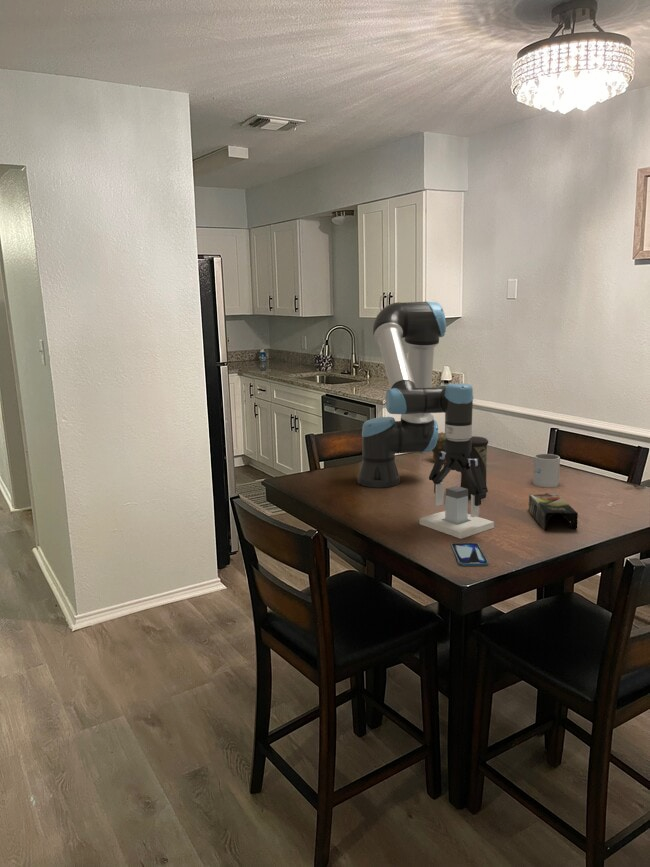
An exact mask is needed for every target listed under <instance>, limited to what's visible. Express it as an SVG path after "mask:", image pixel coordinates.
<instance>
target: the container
mask: <svg viewBox="0 0 650 867" xmlns="http://www.w3.org/2000/svg"><path fill="white" fill-rule="evenodd" d="M470 439H471V441H472V446H471V453H470V459H476V458H478V459H479V463H480V469H481V472H482V475H483V478H484V481H485V484H486V485H487V465H488V464H487V459H488V458H487V456H488V455H487V453H488V444H489V439H488V438H486V437H483V436H476V435H472V437H471V438H470ZM470 467H471V466H470ZM465 470H467V469H465ZM460 487H462V488H466V489H468V499H471V494H474V493H473V491H472V490H471V488H470V486H469V484H468V482H467V480H466V479H465V477H464V475H462V474H461V473H460ZM476 490H477V489H476ZM486 497H487V493H484V494H482V495H481V499H484V498H486Z"/></svg>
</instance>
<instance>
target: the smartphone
mask: <svg viewBox="0 0 650 867" xmlns="http://www.w3.org/2000/svg"><path fill="white" fill-rule="evenodd" d="M450 546H451V549H452V551H453V553H454V554H453V555H454V556H455V559H456V560H457V563H458V566H461V567H486V566H487V567H488V566H489V561H488V559H487V557H486V555H485V554H484V552H483V549H482V548H481V547H480V544H479V543H478V542H477V543H476V542H453V543H451V544H450Z"/></svg>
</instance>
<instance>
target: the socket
mask: <svg viewBox="0 0 650 867" xmlns="http://www.w3.org/2000/svg"><path fill="white" fill-rule="evenodd" d="M419 525H421V526H424V527H427V528H429V529H433V530H435V531H437V532H441V533H444V534H447V535H449V536H451V537H455V538H457V539H460V540H462V539H464V538H465V539H466V538H468V537H471V536H473V535H476V534H480V533H482V532H486V531H489V530H491V529H494V528H495V521H493V520H489V519H487V518H483V517H481V516H480V517H479V516H475V517H471V513H468V518H467V522H465V523H462V524H459V525H456V524H453V523H450V522H447V521H445V510H443V511H440V512H436V513H432V514H429V515H426V516H423V517H420V518H419Z"/></svg>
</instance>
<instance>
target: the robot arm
mask: <svg viewBox="0 0 650 867" xmlns="http://www.w3.org/2000/svg"><path fill="white" fill-rule="evenodd" d="M446 332H447V322H446V315H445V312H444V309H443V306H442V305H441V304H440V303H439V302H436V301H411V302H401V301H400V302H399V301H398V302H397V301H396V302H393V303H390V304H388V305H385V307H383V308H382V309H381V310H380V312H378V314H377V315H376V317H375V319H374V322H373V325H372V336H373V339H374V341H375V343H376V344H377V345H378V346H379V350H380V354H381V355H380V356H381V357H382V361H383V367H384V369H385V373H386V377H387V378H386V379H387V381H388V385H389V388H388V389H387V390H386V391H385V392H386V393H385V407H386V411H387V412H388V413H389V414H390V415H400V420H395V418H394V417H392V416H380V417H374V418H370V419H368V420H366V421H365V422H363V423H362V428H361V429H362V430H361V437H362V438H361V441H362V444H361V445H362V448H361V450H362V458H361V459H362V461H361V466H360V469H359V472H358V475H357V483H358V484H359V485H360V484H361V485H360V486H364V487H368V488H369V487H370V488H388V487H394V486H397V485H399V484H400V474H399V472H398V469H397V468H398V467H397V465H396V462H395V460H396V459H395V455H396V454H414V453H415V454H417V453H418V454H423V453H429V452H432V450H433V449H434V448H435V446H436V443H437V439H438V433H439V424H438V422H437V421H436V419H434V415H433V414H440V413H442V414H443V413H444V433H445V437H446V439H445V451H441V452H438V453H437V459H436V462H434V464H433V466H432V469H431V471H430V473H429V476H428V480H429V481H432V483H433V484H434V485H433V491H434V492H433V494H435V497H434V499H435V501H434V502H435V503H434V504H435V505H434V506H436V507H439V506H442V505H444V497H445V496H444V494H445V493H444V492H445V490H444V488H445V484H444V479H445V478H446V477H447V475H448V474H449V473H450V472H451V471H456V472H458V473H460V475H461V474H462V475H464V477H465V479H466V480H467V482H468V484H469V486H470V488H471V490H472V491H473V493H474V494H471V498H470V514H471V517H475V516H477V517H479V516H480V506H481V505H482V498H481V495H482V494H484V493H486V494H487V493H488V492H489V490H488V487H487V483H486V484H485V481H484V478H483V475H482V472H481V469H480V463H479V459H478V458H476V459H470V453H471V446H472V441H471V439H470V438H471V437H472V436H473V406H474V405H473V403H474V402H473V400H474V392H473V386H472V385H471V384H468V383H458V382H455V383H448V384H447V385H439V386H437V387H434V386H433V387H432V385H433V384H432V383H433V369H434V355H435V354H434V351H435V347H436V346H437V345H439V344H440V338H442V337H445V335H446ZM403 338H404V341H403ZM404 343H405V344H406V345H407V346H408V354H407V351H406V349H405V344H404ZM445 459H446V461H447V462H446V464H444V461H445ZM470 466H471V467H470ZM465 469H467V470H465ZM476 489H477V490H476Z"/></svg>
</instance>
